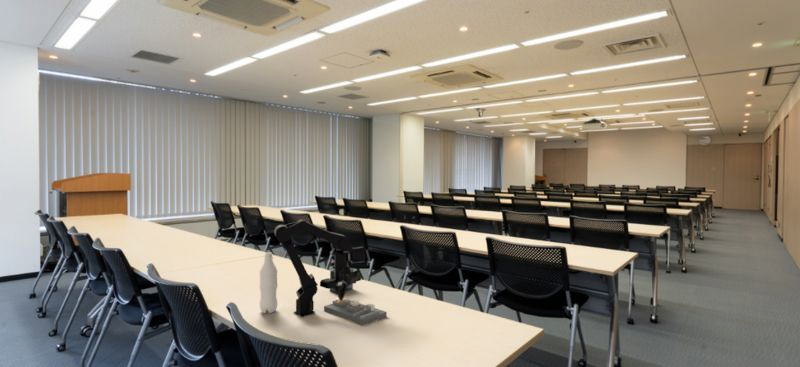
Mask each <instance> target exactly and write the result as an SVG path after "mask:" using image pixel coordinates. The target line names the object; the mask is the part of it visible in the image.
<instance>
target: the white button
mask: <svg viewBox="0 0 800 367" xmlns="http://www.w3.org/2000/svg"><path fill="white" fill-rule="evenodd" d="M359 303H360V300H358V299H354V300H351V307H359Z"/></svg>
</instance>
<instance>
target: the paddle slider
mask: <svg viewBox="0 0 800 367" xmlns="http://www.w3.org/2000/svg"><path fill="white" fill-rule="evenodd" d="M365 305H366V312H367V313H371V312H374V311H375V308H376V307H375V305H374V304H371V303H367V304H365Z"/></svg>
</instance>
